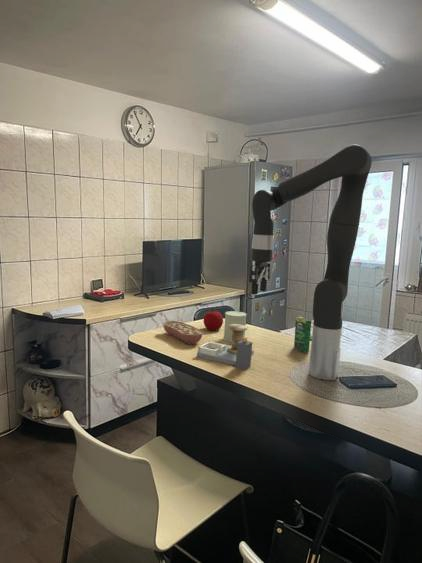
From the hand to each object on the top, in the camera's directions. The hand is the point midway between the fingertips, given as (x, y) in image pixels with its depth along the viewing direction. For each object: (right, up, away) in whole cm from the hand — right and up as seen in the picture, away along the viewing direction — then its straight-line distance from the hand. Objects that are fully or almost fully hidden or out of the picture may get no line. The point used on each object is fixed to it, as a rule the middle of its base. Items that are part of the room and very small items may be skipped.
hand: (258, 292), depth 149 cm
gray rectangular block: (-6, -26, -5) cm, 27 cm away
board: (-12, -24, +7) cm, 27 cm away
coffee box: (+19, -24, +19) cm, 36 cm away
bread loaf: (-29, -20, +25) cm, 44 cm away
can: (-7, -21, +28) cm, 36 cm away
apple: (-17, -18, +43) cm, 49 cm away
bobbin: (-8, -22, +8) cm, 25 cm away
